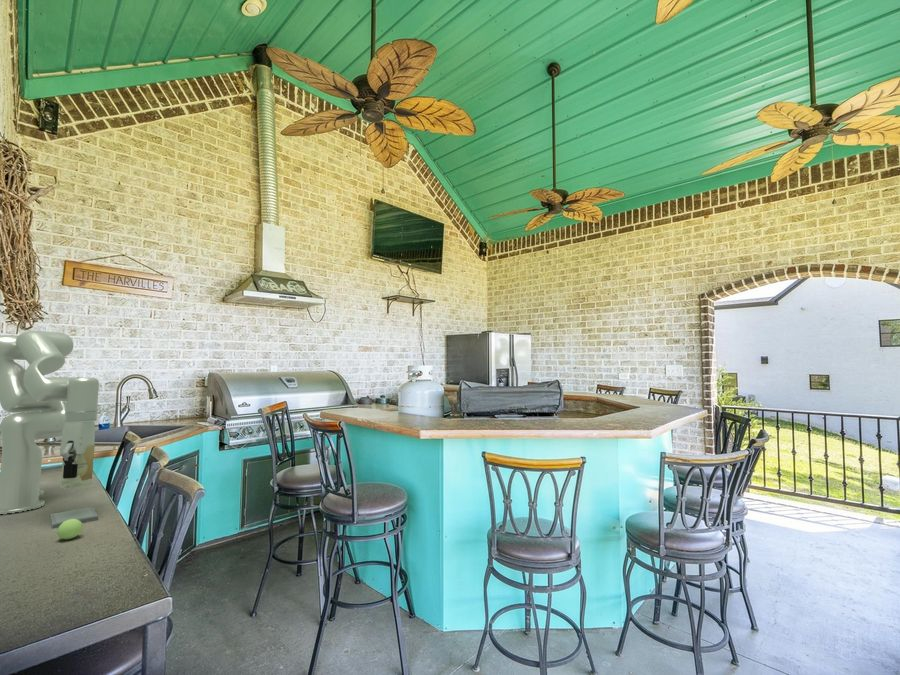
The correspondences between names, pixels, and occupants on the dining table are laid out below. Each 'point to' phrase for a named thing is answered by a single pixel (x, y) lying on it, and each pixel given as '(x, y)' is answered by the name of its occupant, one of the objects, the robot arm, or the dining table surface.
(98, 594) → the dining table surface
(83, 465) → the skincare box
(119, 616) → the dining table surface
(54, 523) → the metal tray
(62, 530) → the lime
